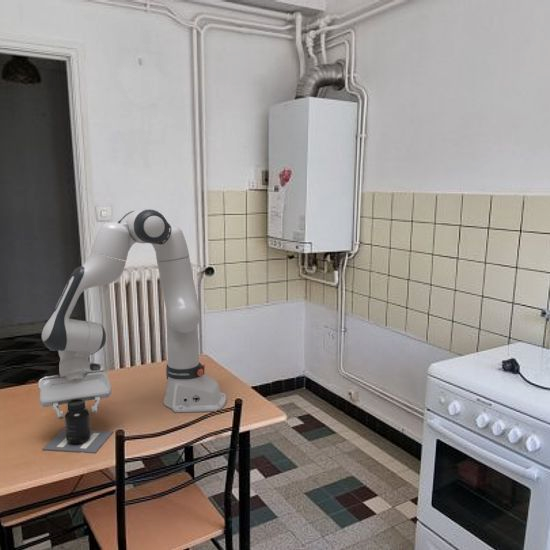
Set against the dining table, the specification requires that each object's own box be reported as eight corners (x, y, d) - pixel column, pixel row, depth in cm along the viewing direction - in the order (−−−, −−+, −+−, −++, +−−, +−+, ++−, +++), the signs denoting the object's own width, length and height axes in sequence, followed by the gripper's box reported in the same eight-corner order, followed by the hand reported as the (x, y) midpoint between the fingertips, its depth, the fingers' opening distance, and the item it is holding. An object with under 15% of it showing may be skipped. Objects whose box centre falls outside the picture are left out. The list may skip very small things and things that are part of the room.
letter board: (112, 432, 148) (112, 431, 148) (95, 453, 136) (95, 452, 136) (63, 429, 149) (63, 428, 149) (42, 450, 137) (42, 448, 137)
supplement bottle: (78, 432, 147) (76, 396, 145) (95, 436, 144) (93, 400, 142) (60, 442, 140) (58, 405, 138) (78, 447, 138) (76, 409, 136)
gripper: (37, 373, 141) (38, 417, 134) (109, 364, 149) (113, 405, 142) (38, 381, 146) (39, 425, 139) (108, 372, 154) (112, 413, 147)
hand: (77, 415), depth 140 cm, fingers open, 8 cm apart
